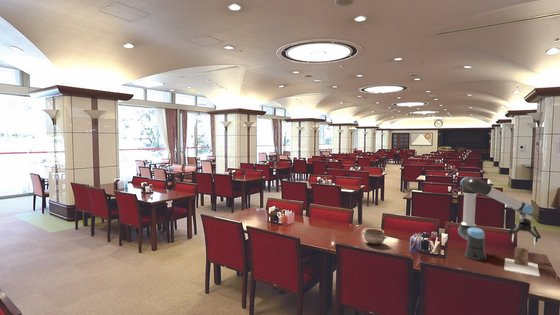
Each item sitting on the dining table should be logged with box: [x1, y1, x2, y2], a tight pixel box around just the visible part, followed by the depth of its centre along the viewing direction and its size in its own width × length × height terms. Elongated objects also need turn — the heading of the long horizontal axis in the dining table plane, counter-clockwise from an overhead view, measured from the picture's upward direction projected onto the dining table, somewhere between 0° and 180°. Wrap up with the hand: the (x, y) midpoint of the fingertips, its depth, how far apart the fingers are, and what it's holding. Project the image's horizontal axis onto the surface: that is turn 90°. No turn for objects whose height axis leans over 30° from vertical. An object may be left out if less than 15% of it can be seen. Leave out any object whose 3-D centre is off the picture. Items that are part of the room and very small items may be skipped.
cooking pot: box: [361, 228, 388, 246], centre depth 287 cm, size 25×19×12 cm
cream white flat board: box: [503, 258, 541, 278], centre depth 232 cm, size 28×20×1 cm
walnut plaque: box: [513, 246, 529, 266], centre depth 236 cm, size 8×4×12 cm, turn 48°
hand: (523, 243), depth 243 cm, fingers open, 13 cm apart
